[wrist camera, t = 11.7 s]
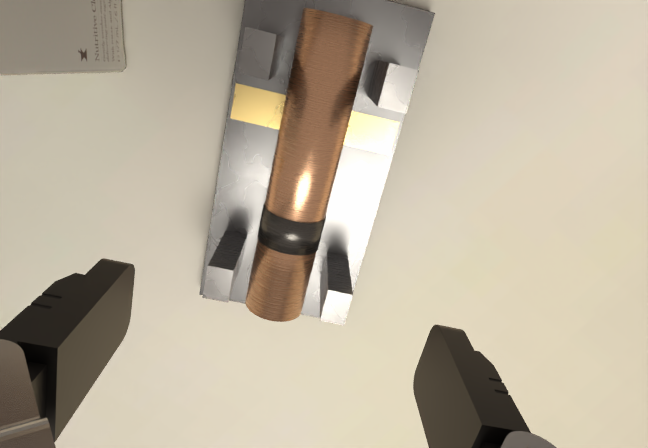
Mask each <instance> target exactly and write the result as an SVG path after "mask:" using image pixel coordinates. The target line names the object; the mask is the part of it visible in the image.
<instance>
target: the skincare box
mask: <svg viewBox="0 0 648 448" xmlns="http://www.w3.org/2000/svg"><path fill="white" fill-rule="evenodd" d="M125 68H126V63H125V54H124V47H123V32H122V14H121V0H0V75H28V74H60V73H105V72H122V71H123V70H124V69H125Z"/></svg>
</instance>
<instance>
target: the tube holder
mask: <svg viewBox="0 0 648 448" xmlns="http://www.w3.org/2000/svg"><path fill="white" fill-rule="evenodd" d="M303 8H310V9H315V10H320V11H325V12H329V13H333V14H337V15H341V16H345V17H348V18H352V19H355V20H359V21H362V22H365V23H368V24H370V25H373V29H372V33H371V37H370V41H369V45H368V49H367V53H366V57H365V61H364V65H363V69H362V73H361V77H360V81H359V85H358V89H357V93H356V97H355V101H354V105H353V109H352V113H351V117H350V121H349V125H348V129H347V133H346V137H345V141H344V145H343V149H342V153H341V157H340V160H339V164H338V168H337V172H336V176H335V180H334V184H333V188H332V192H331V196H330V200H329V204H328V208H327V212H326V220H325V224H324V228H323V232H322V235H321V239H320V243H319V247H318V250H317V252H316V256H315V260H314V264H313V268H312V272H311V276H310V280H309V284H308V288H307V292H306V296H305V300H304V304H303V307H302V311H301V315H306V316H311V317H316V318H320V321H325V322H330V323H335V324H340V325H344V324H345V321H346V317H347V314H348V310H349V307H350V304H351V300H352V297H353V291H354V287H355V284H356V281H357V277H358V274H359V270H360V267H361V264H362V260H363V257H364V253H365V250H366V246H367V243H368V240H369V236H370V233H371V229H372V226H373V223H374V219H375V216H376V212H377V209H378V205H379V202H380V199H381V195H382V192H383V188H384V185H385V182H386V178H387V175H388V171H389V168H390V164H391V161H392V158H393V154H394V151H395V147H396V144H397V141H398V137H399V134H400V130H401V127H402V123H403V120H404V117H405V114H406V113H407V109H408V106H409V102H410V99H411V96H412V92H413V89H414V85H415V82H416V79H417V75H418V72H419V70H418V69H419V65H420V62H421V59H422V55H423V52H424V48H425V45H426V41H427V38H428V35H429V31H430V28H431V24H432V21H433V18H434V14H435V13H433V12H430V11H426V10H422V9H418V8H414V7H411V6H407V5H403V4H399V3H396V2H392V1H388V0H245V5H244V12H243V18H242V24H241V31H240V37H239V44H238V50H237V57H236V63H235V69H234V76H233V82H232V89H231V95H230V102H229V108H228V114H227V121H226V127H225V134H224V140H223V147H222V153H221V159H220V166H219V172H218V179H217V185H216V192H215V198H214V205H213V211H212V217H211V224H210V230H209V237H208V243H207V250H206V256H205V262H204V269H203V275H202V282H201V288H200V295H203V298H208V299H213V300H218V301H223V302H228V301H229V300H230V301H235V302H240V303H245V300H246V295H247V290H248V285H249V280H250V275H251V270H252V265H253V260H254V255H255V250H256V245H257V240H258V237H257V235H258V230H259V225H260V220H261V215H262V210H263V205H264V202H265V199H266V194H267V189H268V184H269V179H270V174H271V169H272V164H273V159H274V154H275V149H276V144H277V139H278V134H279V129H280V124H281V119H282V114H283V108H284V103H285V98H286V93H287V88H288V83H289V78H290V73H291V68H292V63H293V58H294V53H295V48H296V43H297V38H298V33H299V28H300V23H301V18H302V13H303ZM245 304H246V303H245Z"/></svg>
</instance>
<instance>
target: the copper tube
mask: <svg viewBox="0 0 648 448" xmlns="http://www.w3.org/2000/svg"><path fill="white" fill-rule="evenodd" d="M372 29H373V25H370V24H368V23H365V22H362V21H359V20H355V19H352V18H348V17H345V16H341V15H337V14H333V13H329V12H325V11H320V10H315V9H310V8H303V13H302V18H301V23H300V28H299V33H298V38H297V43H296V48H295V53H294V58H293V63H292V68H291V73H290V78H289V83H288V88H287V93H286V98H285V103H284V108H283V114H282V119H281V124H280V129H279V134H278V139H277V144H276V149H275V154H274V159H273V164H272V169H271V174H270V179H269V184H268V189H267V194H266V199H265V202H264V205H263V210H262V215H261V220H260V225H259V230H258V235H257V237H258V240H257V245H256V250H255V255H254V260H253V265H252V270H251V275H250V280H249V285H248V290H247V295H246V300H245V303H246V306H247V308H248V309H249V310H250V311H251V312H252V313H254V314H255V315H257V316H259V317H261V318H263V319H267V320H271V321H280V322H282V321H290V320H293V319H295V318H297V317H298V316H299V315H300V314H301V311H302V307H303V304H304V300H305V296H306V292H307V288H308V284H309V280H310V276H311V272H312V268H313V264H314V260H315V256H316V252H317V250H318V247H319V243H320V239H321V235H322V232H323V228H324V224H325V220H326V212H327V208H328V204H329V200H330V196H331V192H332V188H333V184H334V180H335V176H336V172H337V168H338V164H339V160H340V157H341V153H342V149H343V145H344V141H345V137H346V133H347V129H348V125H349V121H350V117H351V113H352V109H353V105H354V101H355V97H356V93H357V89H358V85H359V81H360V77H361V73H362V69H363V65H364V61H365V57H366V53H367V49H368V45H369V41H370V37H371V33H372Z"/></svg>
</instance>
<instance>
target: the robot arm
mask: <svg viewBox="0 0 648 448" xmlns="http://www.w3.org/2000/svg"><path fill="white" fill-rule="evenodd" d="M134 275H135V268H134V265H133V264H129V263H124V262H119V261H113V260H108V259H101V260H100V261H99V262H98V263H97V264H96V265H95V266H94V267H93V268H92V269H91V270H89V271H88V272H87V273H86V274H85V275H83V274H77V273H74V274H72V275H70V276H67V277H65V278H63V279H60V280H58V281H55V282H54V283H53V284H52V285H51V286H50V287H49V288H48V289H47V290H45V291H44V292H43V293H42V296H39V297H38V298H36V299H35V300H34V301H33V302H32V303H31V306H27V307H26V308H25V309H24V310H23V311H22V312H21V313H20V314H18V315H17V316H16V317H15V318H14V319H13V320H12V321H11V322H10V323H8V324H7V325H6V326H5V327H4V328H3V329H2V330H1V331H0V448H56V447H55V444H54V442H55V441H56V440H57V438H58V437H59V435H60V434H61V432H62V431H63V429H64V428H65V426H66V425H67V423H68V422H69V420H70V419H71V417H72V416H73V414H74V413H75V411H76V410H77V408H78V407H79V405H80V404H81V402H82V401H83V399H84V398H85V396H86V395H87V393H88V392H89V390H90V389H91V387H92V386H93V384H94V383H95V381H96V380H97V378H98V377H99V375H100V374H101V372H102V371H103V369H104V368H105V366H106V365H107V363H108V362H109V360H110V359H111V357H112V356H113V354H114V353H115V351H116V350H117V348H118V347H119V345H120V344H121V342H122V340H123V339H124V337H125V334H126V332H127V329H128V326H129V322H130V317H131V307H132V296H133V286H134ZM501 381H502V380H501V378H500V376H499V374H498V372H497V371H496V369H495V367H494V365H493V364H492V363H491V362H490V361H489V360H488V359H487V358H485V357H484V356H483V355H482V354H481V353H480V352H479V351H474V349H473V347H472V345H471V343H470V341H469V339H468V337H467V335H466V334H465V332H464V331H463V330H461V329H456V328H451V327H446V326H441V325H434V326H433V327H432V329H431V331H430V333H429V336H428V338H427V341H426V344H425V347H424V349H423V352H422V355H421V357H420V360H419V363H418V365H417V368H416V371H415V375H414V384H413V388H414V395H415V399H416V402H417V406H418V410H419V413H420V417H421V420H422V424H423V428H424V431H425V435H426V438H427V442H428V446H429V448H556V447H555V446H554V445H552V444H551V443H550V442H548V441H547V440H545V439H543V438H541V437H539V436H537V435H535V434H532V433H531V432H530V430H529V428H528V427H527V425H526V423H525V421H524V419H523V418H522V416H521V414H520V412H519V410H518V409H517V407H516V405H515V403H514V401H513V399H512V398H511V396H510V395H508V390H507V389H506V387H505V385H504V383H502V382H501Z"/></svg>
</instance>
